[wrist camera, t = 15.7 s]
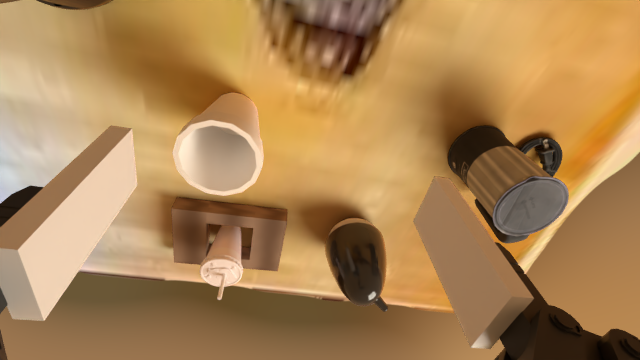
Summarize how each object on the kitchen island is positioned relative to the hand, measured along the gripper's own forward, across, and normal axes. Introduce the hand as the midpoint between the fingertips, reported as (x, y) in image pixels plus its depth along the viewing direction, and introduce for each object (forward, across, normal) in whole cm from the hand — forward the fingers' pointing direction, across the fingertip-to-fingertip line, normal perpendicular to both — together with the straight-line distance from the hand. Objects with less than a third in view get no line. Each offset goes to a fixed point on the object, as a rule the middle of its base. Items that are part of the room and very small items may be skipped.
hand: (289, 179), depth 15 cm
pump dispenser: (+33, +16, -30) cm, 48 cm away
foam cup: (+33, -6, -12) cm, 35 cm away
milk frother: (+33, +36, -10) cm, 50 cm away
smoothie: (+33, -5, -34) cm, 47 cm away
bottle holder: (+33, -5, -34) cm, 47 cm away
